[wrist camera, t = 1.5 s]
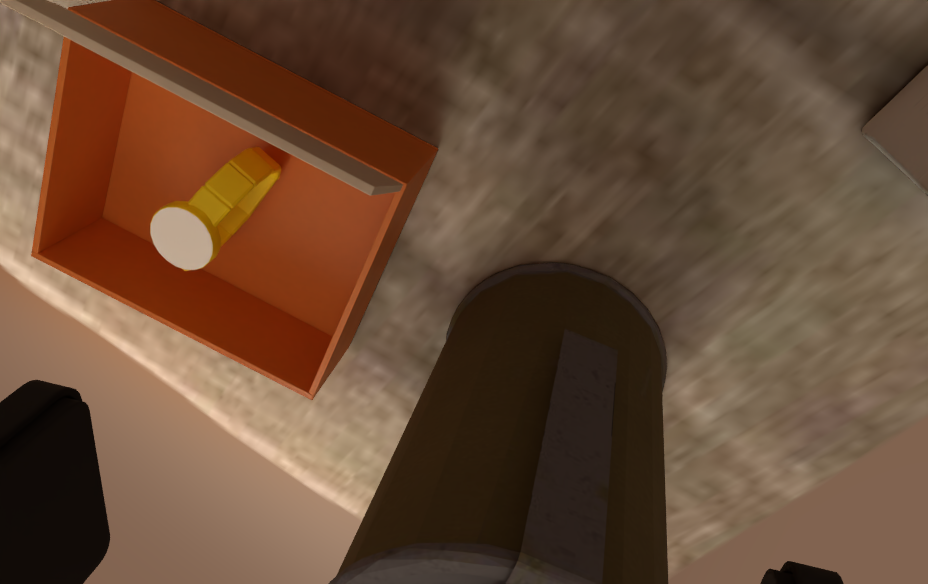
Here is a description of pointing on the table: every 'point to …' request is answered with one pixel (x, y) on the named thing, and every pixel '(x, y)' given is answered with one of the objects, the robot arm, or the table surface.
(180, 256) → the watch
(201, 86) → the flap
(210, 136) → the carton
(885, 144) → the skincare box
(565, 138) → the table surface
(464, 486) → the canister
